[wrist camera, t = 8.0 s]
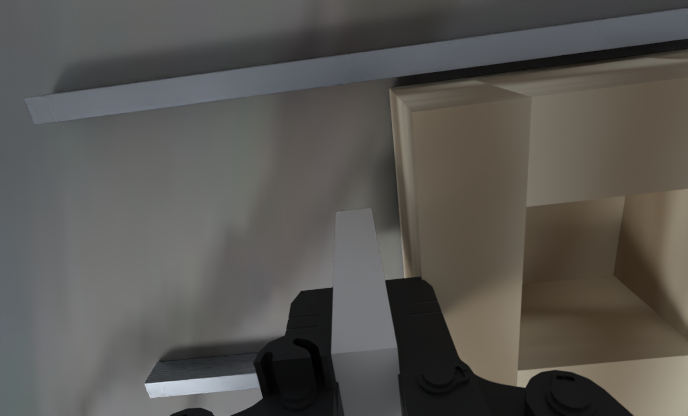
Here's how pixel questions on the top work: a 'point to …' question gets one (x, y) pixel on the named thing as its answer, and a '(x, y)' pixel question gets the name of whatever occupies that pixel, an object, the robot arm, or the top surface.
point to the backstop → (328, 72)
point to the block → (555, 221)
